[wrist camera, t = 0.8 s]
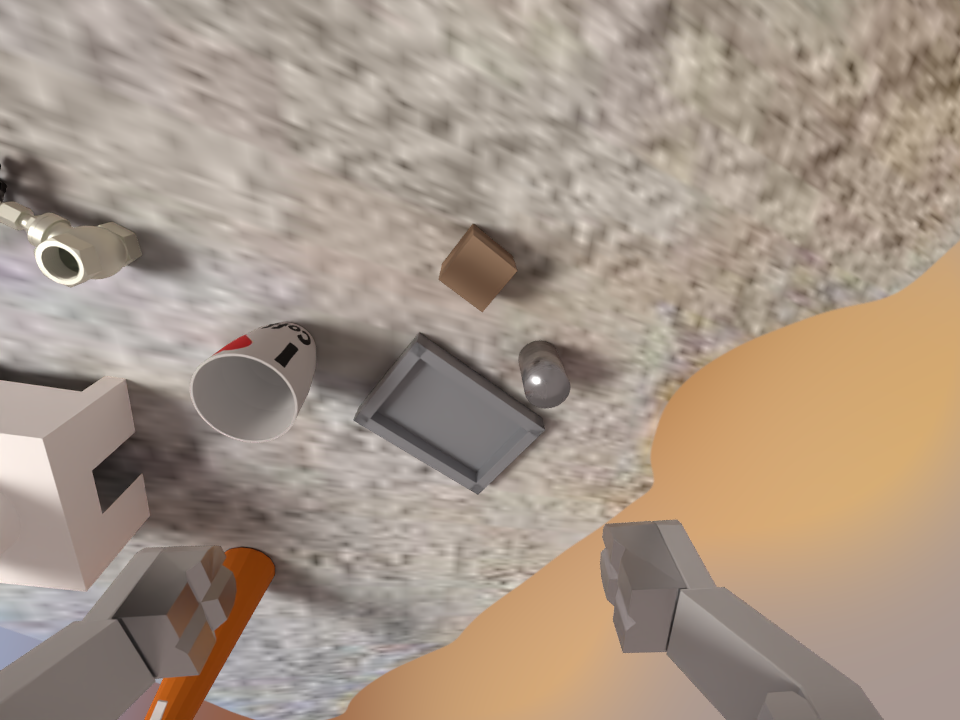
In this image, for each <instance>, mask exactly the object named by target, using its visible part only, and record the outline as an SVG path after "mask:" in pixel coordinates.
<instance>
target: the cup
mask: <svg viewBox="0 0 960 720" xmlns="http://www.w3.org/2000/svg"><path fill="white" fill-rule="evenodd" d="M315 368H316V344H315V341H314V339H313V337H312V336H311V334H310V333H309V332H308V331H307V330H306V329H304V328H303V327H301V326H299V325H297V324H294V323H290V322H280V323H275V324H271V325H266V326H262V327H259V328H257V329H255V330H253V331H251V332H249V333H247V334H245V335H243V336H241V337H239V338H237V339H235V340H233V341H232V342H230V343H229V344H228V345H226V346H225V347H223V348H222V349H221V350H219V351H218V352H217V353H215V354H214V355H212V356H211V357H210V358H208V359H207V360H205V361H204V362H203V363H201V364H200V365H199V366H198V367H197V369H196V370H195V372H194V373H193V375H192V378H191V382H190V395H191V399H192V402H193V405H194V407H195V409H196V411H197V412H198V414H199V415H200V416H201V418H202V419H203V420H204V421H205V422H206V423H207V424H208V425H210V426H211V427H212V428H213V429H215V430H216V431H218V432H219V433H221V434H223V435H225V436H227V437H230V438H232V439H236V440H239V441H244V442H266V441H270V440H274V439H276V438H278V437H280V436H282V435H283V434H285V433H286V432H287V431H288V430H289V429H290V428H291V427H292V425H293V423H294V422H295V419H296V417H297V415H298V413H299V411H300V409H301V407H302V405H303V403H304V401H305V399H306V397H307V395H308V393H309V390H310V386H311V383H312V379H313V376H314V372H315Z"/></svg>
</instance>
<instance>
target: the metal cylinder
mask: <svg viewBox="0 0 960 720" xmlns="http://www.w3.org/2000/svg"><path fill="white" fill-rule="evenodd" d="M518 361H519V366H520V371H521V376H522V381H523V386H524V391H525V395H526V398H527V399H528V401H529V402H530V403H531V404H533V405H534V406H536V407H539V408H552V407H555V406H558V405H559V404H561V403H562V402H563V401H564V400H565V399H566V398H567V396H568V395H569V392H570V383H569V380H568V377H567V375H566V372H565V370H564V367H563V365H562V362H561V360H560V357H559V354H558V352H557V350H556V348H555V347H554V346H553V345H552V344H550V343H549V342H546V341H533V342H531V343H529V344H527V345H526V346H525V347H523V349H522V350H521V352H520V354H519V358H518Z"/></svg>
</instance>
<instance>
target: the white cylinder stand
mask: <svg viewBox="0 0 960 720" xmlns="http://www.w3.org/2000/svg"><path fill="white" fill-rule="evenodd" d="M134 433H135V428H134V422H133V416H132V411H131V405H130V399H129V394H128V388H127V382H126V379H123V378H116V377H109V376H104V377H103V378H101V379H100V380H98V381H97V382H95V383H94V384H92V385H91V386H89V387H88V388H86V389H85V390H83V391H82V392H80V391H73V390H66V389H59V388H52V387H45V386H38V385H31V384H24V383H17V382H10V381H3V380H0V583H7V584H17V585H27V586H37V587H47V588H56V589H66V590H76V591H86V592H87V590H88V589H89V588H90V587H91V586H92V584H93V583H94V582H95V581H96V580H97V578H98V577H99V576H100V575H101V574H102V572H103V571H104V570H105V569H106V568H107V567H108V565H109V564H110V563H111V562H112V561H113V559H114V558H115V557H116V556H117V555H118V553H119V552H120V551H121V550H122V549H123V547H124V546H125V545H126V544H127V543H128V541H129V540H130V539H131V538H132V537H133V535H134V534H135V533H136V532H137V531H138V529H139V528H140V527H141V526H142V525H143V523H144V522H145V521H146V520H147V519H148V517H149V516H150V512H149V507H148V501H147V495H146V490H145V484H144V478H143V473H142V474H141V475H140V476H139V477H138V478H137V479H136V480H135V481H134V482H133V483H132V484H131V485H130V486H129V487H128V488H127V489H126V490H125V491H124V492H123V493H122V495H121V496H120V497H119V498H118V499H117V500H116V501H115V502H114V503H113V504H112V505H111V506H110V507H109V508H108V509H107V510H106V511H105V512H104V513H103V514H102V511H101V507H100V502H99V498H98V494H97V490H96V486H95V482H94V477H93V473H92V470H93V469H94V468H96V467H97V466H98V465H99V464H100V463H101V462H102V461H103V460H104V459H106V458H107V457H108V456H109V455H110V454H111V453H112V452H113V451H115V450H116V449H117V448H118V447H119V446H120V445H121V444H122V443H123V442H125V441H126V440H127V439H128V438H129V437H130V436H131V435H132V434H134Z"/></svg>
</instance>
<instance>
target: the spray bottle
mask: <svg viewBox="0 0 960 720" xmlns="http://www.w3.org/2000/svg"><path fill="white" fill-rule="evenodd" d="M224 553H225V555H226V559H225V561H224V562H223V564H222V565H223V566H225V567H226V568H228V569H229V570H231V571H232V572H233V574H234V577H235V579H236V588H237V592H236V597H235V602H234V606H233V608H232V610H231V613H230V615H229V617H228V619H227V620H226V621H225V622H224V623H223V624H221V625H220V626H219V627H218V628H217V629H216V630H214V632H215V636H216V643H215V645H214V647H213V649H212V651H211V653H210V655H209V657H208V659H207V661H206V663H205V665H204V667H203V669H202V671H201V673H200V675H195V676H183V677H171V678H163V680H162V682H161V685H160V687H159V689H158V691H157V693H156V695H155V697H154V700H153V702H152V704H151V706H150V708H149V710H148V713H147V715H146V717H145V719H144V720H193V718H194V717H195V715H196V713H197V711H198V709H199V708H200V706H201V704H202V702H203V701H204V699H205V697H206V695H207V694H208V692H209V690H210V688H211V687H212V685H213V683H214V681H215V679H216V678H217V676H218V674H219V672H220V671H221V669H222V667H223V665H224V664H225V662H226V660H227V658H228V657H229V655H230V653H231V651H232V649H233V648H234V646H235V644H236V642H237V641H238V639H239V637H240V635H241V634H242V632H243V630H244V628H245V627H246V625H247V623H248V621H249V619H250V618H251V616H252V614H253V612H254V611H255V609H256V607H257V605H258V604H259V602H260V600H261V598H262V597H263V595H264V593H265V591H266V589H267V588H268V586H269V584H270V582H271V581H272V579H273V577H274V575H275V566H274V564H273V563H272V561H271V559H270V558H269V557H267V556H266V555H265V554H263V553H262V552H259V551H257V550H254V549H251V548H242V547H239V548H234V549H229V550H228V551H226V552H224Z"/></svg>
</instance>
